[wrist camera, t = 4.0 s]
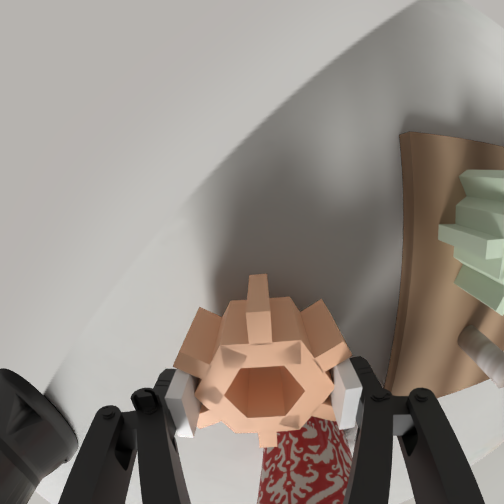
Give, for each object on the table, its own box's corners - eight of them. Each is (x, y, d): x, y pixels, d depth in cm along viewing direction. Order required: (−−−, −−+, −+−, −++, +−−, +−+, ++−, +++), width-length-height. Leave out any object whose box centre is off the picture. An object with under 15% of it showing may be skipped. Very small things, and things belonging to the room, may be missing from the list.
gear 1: (242, 408, 19) (239, 460, 14) (167, 327, 17) (140, 372, 12) (353, 350, 17) (378, 397, 13) (289, 249, 16) (302, 277, 11)
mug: (234, 426, 22) (215, 562, 9) (332, 390, 20) (367, 540, 7) (294, 483, 24) (297, 580, 11) (370, 456, 23) (397, 555, 9)
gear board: (380, 400, 20) (408, 463, 13) (399, 134, 16) (468, 114, 8) (487, 369, 20) (524, 410, 12) (516, 153, 15) (578, 154, 7)
